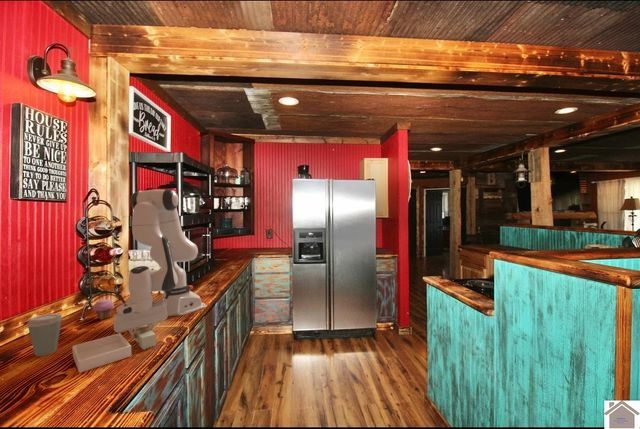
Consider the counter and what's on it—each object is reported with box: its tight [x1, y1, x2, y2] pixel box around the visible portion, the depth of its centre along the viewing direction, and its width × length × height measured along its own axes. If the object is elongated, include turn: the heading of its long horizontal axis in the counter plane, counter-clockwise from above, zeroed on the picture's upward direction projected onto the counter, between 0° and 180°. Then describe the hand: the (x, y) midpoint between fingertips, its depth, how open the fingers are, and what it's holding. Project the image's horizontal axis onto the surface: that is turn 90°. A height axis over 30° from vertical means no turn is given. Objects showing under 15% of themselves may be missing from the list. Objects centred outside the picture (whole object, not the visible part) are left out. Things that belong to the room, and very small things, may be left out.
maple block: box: [133, 325, 151, 344], centre depth 130 cm, size 5×5×5 cm
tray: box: [72, 332, 132, 373], centre depth 117 cm, size 16×18×4 cm
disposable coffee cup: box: [26, 313, 63, 357], centre depth 120 cm, size 11×11×15 cm
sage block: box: [138, 330, 157, 350], centre depth 124 cm, size 5×5×5 cm
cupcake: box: [92, 298, 115, 320], centre depth 159 cm, size 9×9×10 cm
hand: (142, 335), depth 130 cm, fingers closed on maple block, 5 cm apart
